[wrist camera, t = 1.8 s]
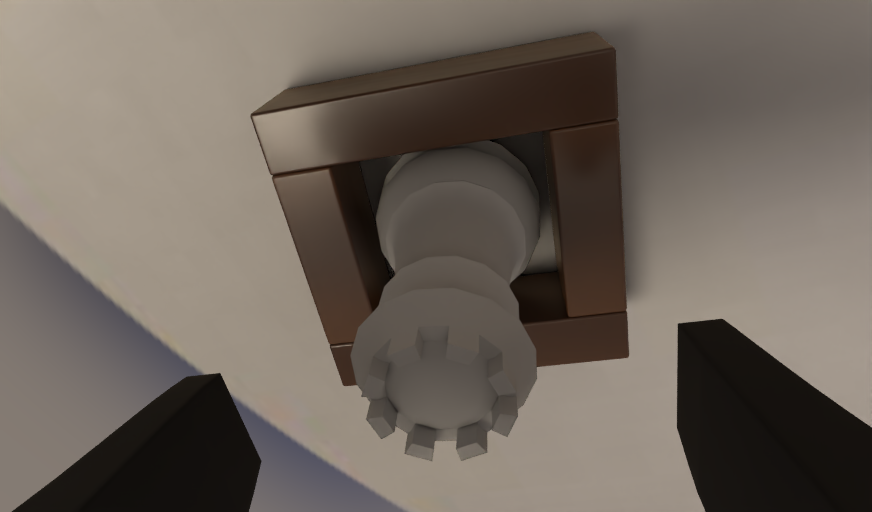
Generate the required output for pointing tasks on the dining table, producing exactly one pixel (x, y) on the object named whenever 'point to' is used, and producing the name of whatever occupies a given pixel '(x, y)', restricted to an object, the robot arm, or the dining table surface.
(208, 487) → the robot arm
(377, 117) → the holder
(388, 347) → the rook chess piece
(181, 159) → the dining table surface
